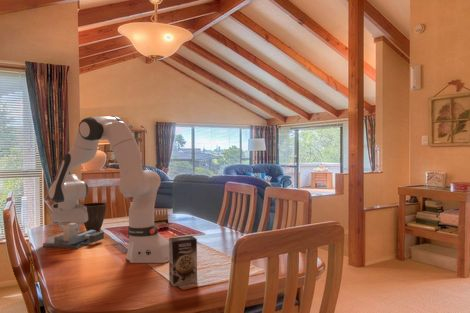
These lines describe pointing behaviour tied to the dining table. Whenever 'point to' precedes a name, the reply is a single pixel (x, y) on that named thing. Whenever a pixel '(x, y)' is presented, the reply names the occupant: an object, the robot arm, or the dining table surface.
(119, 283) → the dining table surface
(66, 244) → the vise bed
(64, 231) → the block
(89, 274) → the dining table surface
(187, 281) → the coffee box
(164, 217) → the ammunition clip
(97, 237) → the vise jaw
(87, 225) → the plant pot
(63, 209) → the robot arm
